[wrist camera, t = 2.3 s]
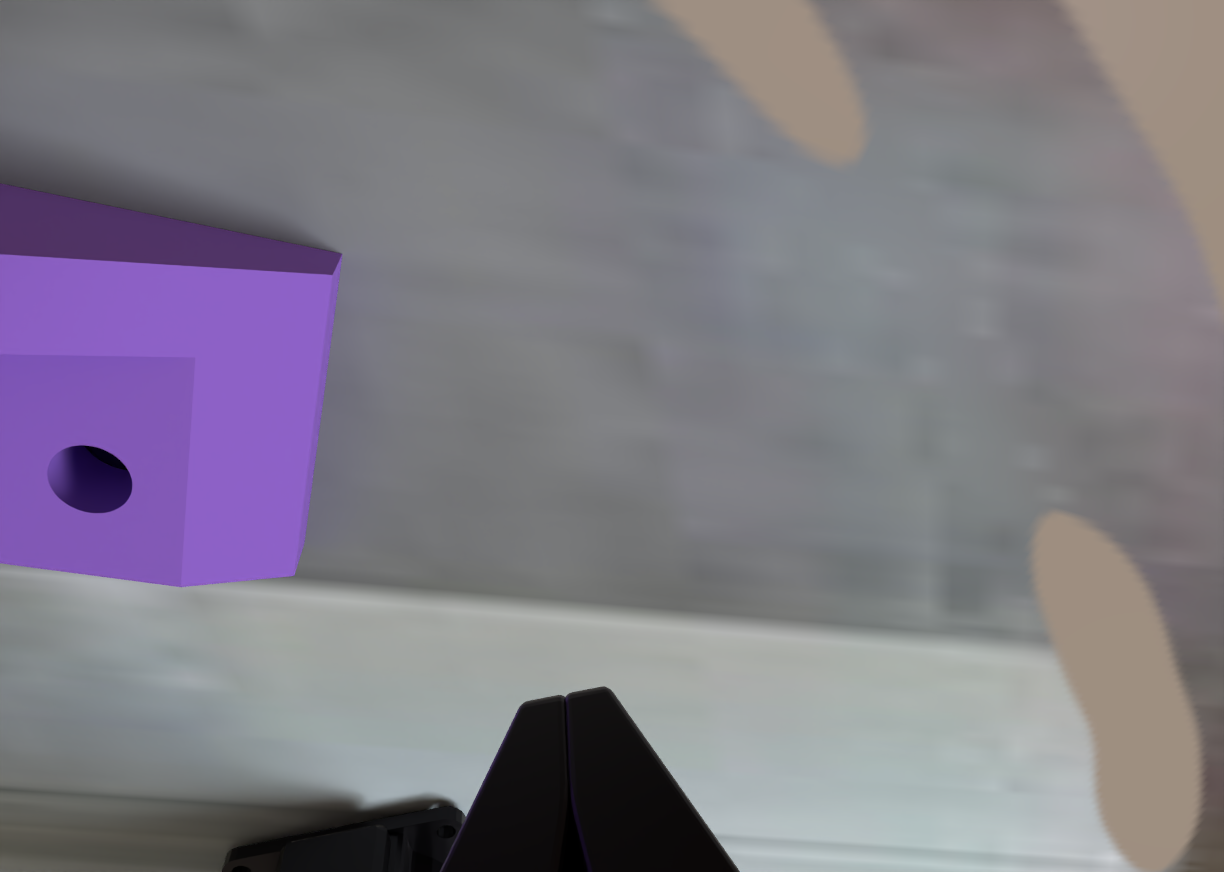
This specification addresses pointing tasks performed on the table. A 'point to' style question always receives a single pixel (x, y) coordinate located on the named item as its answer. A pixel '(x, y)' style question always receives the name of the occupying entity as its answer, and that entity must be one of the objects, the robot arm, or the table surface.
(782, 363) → the table surface
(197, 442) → the bracket
